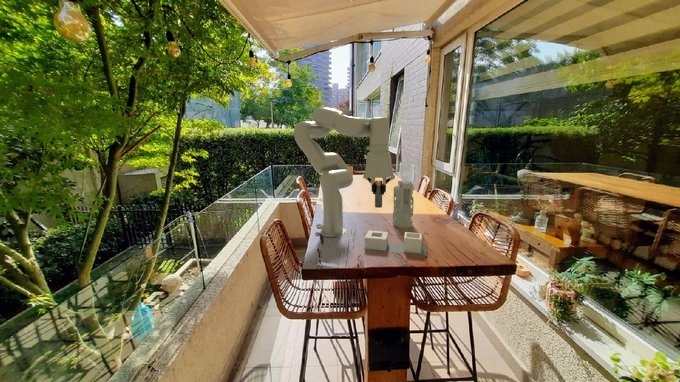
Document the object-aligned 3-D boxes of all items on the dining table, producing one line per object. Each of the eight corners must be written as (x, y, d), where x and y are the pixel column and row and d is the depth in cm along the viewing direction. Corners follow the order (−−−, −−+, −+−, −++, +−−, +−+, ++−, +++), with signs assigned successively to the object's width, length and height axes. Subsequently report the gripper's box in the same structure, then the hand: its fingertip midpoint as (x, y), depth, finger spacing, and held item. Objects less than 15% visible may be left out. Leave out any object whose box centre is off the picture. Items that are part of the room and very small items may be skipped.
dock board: (361, 251, 113) (362, 235, 111) (366, 242, 122) (366, 227, 120) (426, 258, 105) (427, 241, 104) (425, 247, 115) (426, 232, 113)
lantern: (391, 222, 149) (392, 178, 144) (410, 222, 148) (411, 177, 143) (395, 230, 136) (396, 182, 131) (415, 230, 136) (417, 182, 130)
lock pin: (374, 207, 111) (374, 181, 108) (375, 205, 114) (375, 180, 111) (381, 207, 110) (381, 181, 108) (382, 206, 113) (382, 180, 110)
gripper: (357, 149, 106) (357, 194, 109) (399, 149, 101) (398, 196, 105) (361, 148, 113) (361, 191, 116) (400, 148, 108) (399, 192, 112)
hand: (378, 193), depth 111 cm, fingers closed on lock pin, 3 cm apart
